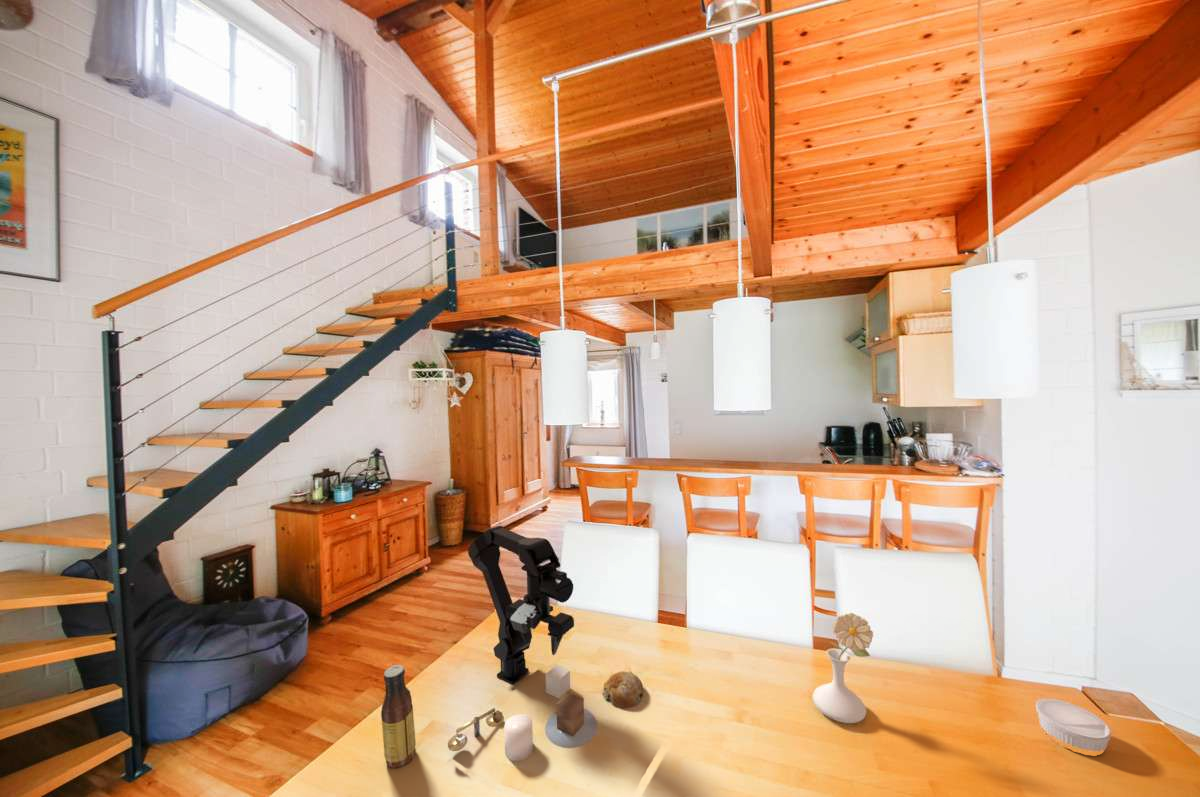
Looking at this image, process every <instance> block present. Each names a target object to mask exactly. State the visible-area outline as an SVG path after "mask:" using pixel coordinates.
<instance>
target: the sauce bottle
mask: <svg viewBox="0 0 1200 797" xmlns="http://www.w3.org/2000/svg"><path fill="white" fill-rule="evenodd" d="M405 674H406V670H405V666H403V665H402V664H395V665H392V666H390V667H388V668H387V669H386V670H385V671H384V673H383V680H384V683H385V684H384V685H385V695H384V700H383V703H382V706H381V713H380V718H381V727H382V741H383V754H384V759H385V763H386V765H387V766H388V767H390V766H391V767H390V768H393V767H398V768H400V767H401V766H404V765H406V764H408V763H409V762H410V761H411V760H412V759H413V758H414V756H415V755H416V745H417V743H416V732H415V731H416V729H415V720H414V718H415V717H414V706H413V704H412V703H413V701H412V700H413V699H412V694H411V691H410V690H409V688H407V686H406V684H405Z"/></svg>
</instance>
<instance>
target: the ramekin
mask: <svg viewBox="0 0 1200 797" xmlns="http://www.w3.org/2000/svg"><path fill="white" fill-rule="evenodd" d="M1035 710H1036V712H1037V715H1038V721H1039V726H1040V725H1041V726H1040V728H1041V727H1042V728H1043V729H1044V730H1045V731H1046V732H1047V733H1048V734H1050V735H1052V736H1054V737H1055V738H1057V739H1058V740H1060V741H1062V742H1065V743H1067V744H1070V745H1072V746H1075V747H1078V748H1081V749H1086V750H1092V751H1101V750H1104V749H1105V748H1106V749H1107V746H1108V743H1109V741H1110V740H1111V738H1112V734H1111V733H1112V732H1111V729H1110V727H1109V726H1108V724H1107V723H1106V722H1105V721H1104V720H1103V719H1101V718H1100V717H1098V716H1097V715H1095V714H1094V713H1092V712H1090V711H1089V710H1087V709H1085V708H1083V707H1081V706H1078V705H1076V704H1073V703H1071V702H1067V701H1065V700H1060V699H1055V698H1040V699H1038V700H1036V703H1035Z"/></svg>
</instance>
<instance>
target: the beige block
mask: <svg viewBox="0 0 1200 797" xmlns="http://www.w3.org/2000/svg"><path fill="white" fill-rule="evenodd" d="M570 689H571V670H570V669H568V668H566V667H564V666H563V667H562V666H560V665H557V664H555V665H554V666H553V667H552V668H551V669H550V670H549V671H547V672H546V673H545V693H546V694H548V695H551V696H553V697H555V698H556V699H559V700H560V699H561V698H562V697H563V696H564V695H565V694H566V693H567V692H569V690H570Z"/></svg>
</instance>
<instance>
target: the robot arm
mask: <svg viewBox="0 0 1200 797" xmlns="http://www.w3.org/2000/svg"><path fill="white" fill-rule="evenodd" d="M501 548H502V549H504V550H507V551H508V552H510V553H513V554H515V555H517V557H518V560H519V562H520V563H522V564H523V565H522V566H521V570H522V571H524V572H526V591H527V592H526V594H525V595H524V596H523V599H521V598H518V599H517V600H515V601H514V602H513V600H512V597H511V594H510V591H509V589H508V586H507V583H506V581H505V579H504V575H503V573H502V570H501V567H500V559H501V550H500V549H501ZM467 555H468V556H469V558H470V560H471V562H472V564H473V566H474V567H475V568H476V569H478V570H479V571H481V573H482V575H483V578H484V581H485V584H486V586H487V589H488V592H489V595H490V597H491V600H492V604H493V606H494V610H495V612H496V615H497V617H498V620H499V627H498V632H497V636H498V641H499V642H498V643H497V644H496V645H495V646H494V647H493V654H494V657H495V658H496V659H498V660H499V661H500V671H499V672H498V673H497V674H496V677H497V678H499V679H501V680H504V681H506V682H507V683H510V684H512V685H513V684H516V683H517V682H518V681H519V680H520V679H521V678H523V677H524V676H525V675H526V674H527V673H529V670H530V669H529V668H528V667H526V666H527V665H526V659H525V652H524V651H526V650H529V649H530V647H531V643H532V639H533V632H532V630H535V629H536V628H537V627H538V626H539V624H540V622H542V623H545V624H547V630H548V633H547V635H548V636H549V638H550V645H551V646H550V648H551V655H552V656H555V655H556V654H557V652H558V649H559V646H560V644H561V642H562V638H563V637H564V635H566V634H567V633H568V632H569V631H570V630H571V629H572V628H574V627H575V618H574V617H573V615H570V614H567V613H566V612H565V613H564V612H559V613H558V614H557V615H552V614H551V612H553V611H554V606H553V605H551V602H550V600H551V599H552V600H555V601H556V602H559V603H562V604H564V603H566V602H567V601H569V599H570V598H571V597H572V594H573V591H574V583H573V580H572V579H571V578H569V577H568V573H567V572H565V571H561V570H558V568H560V567H561V566H562V565H561V563H560V561H559V558H558V556H557V554H556V552H555V549H554V548H553V545H552V544H551V543H550V541H549V540H548V539H547V538H544V537H526V536H523V535H522V534H519V533H517V532H515V531H512V530H509V529H507V528H506V527H504V525H503V526H502V525H497V526H493V527H490V528H488V529H486V530H485V531H484V532H483V533H482V535H480V536H479V537H477V538H476V539H475V540H473V541H472V542H471V543H469V547H468V549H467ZM546 562H547V563H546ZM544 563H546V564H544ZM542 564H543V565H542Z"/></svg>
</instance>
